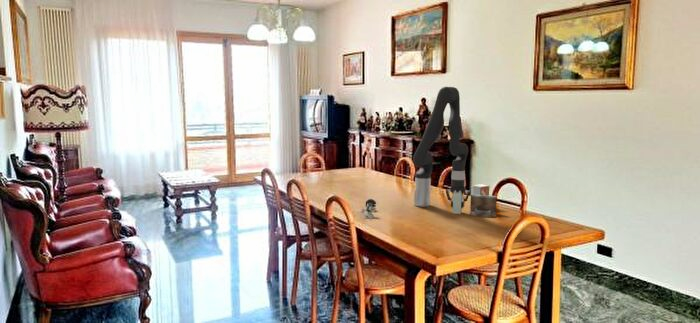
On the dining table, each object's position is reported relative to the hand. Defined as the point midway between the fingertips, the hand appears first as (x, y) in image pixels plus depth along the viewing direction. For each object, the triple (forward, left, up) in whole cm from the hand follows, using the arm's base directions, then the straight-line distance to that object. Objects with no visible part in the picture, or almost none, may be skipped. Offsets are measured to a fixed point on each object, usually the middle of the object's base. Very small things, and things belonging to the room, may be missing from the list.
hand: (457, 207), depth 271 cm
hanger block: (0, 0, -3) cm, 3 cm away
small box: (+12, +20, -3) cm, 24 cm away
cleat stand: (+14, 0, -3) cm, 14 cm away
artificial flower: (-47, -16, -4) cm, 50 cm away
